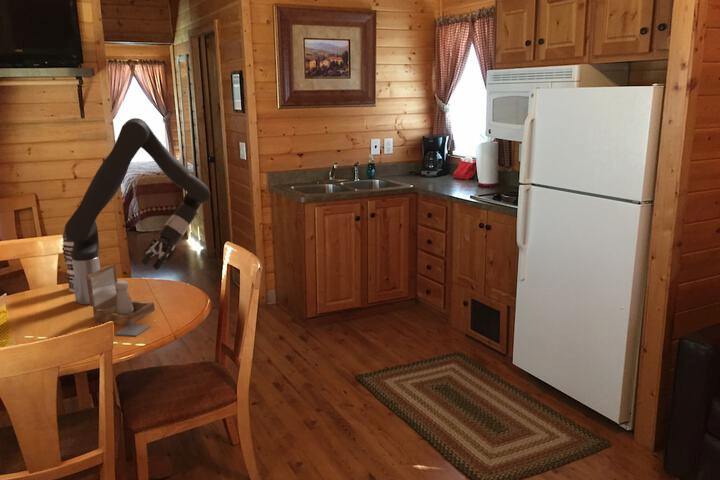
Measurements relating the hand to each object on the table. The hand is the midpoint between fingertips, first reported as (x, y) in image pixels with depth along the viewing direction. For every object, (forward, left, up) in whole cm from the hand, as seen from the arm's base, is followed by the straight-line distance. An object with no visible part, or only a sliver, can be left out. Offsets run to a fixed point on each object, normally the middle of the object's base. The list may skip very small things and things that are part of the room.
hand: (148, 266), depth 220 cm
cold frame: (-5, -9, -16) cm, 19 cm away
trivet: (+5, -21, -16) cm, 27 cm away
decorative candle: (-42, +15, -16) cm, 48 cm away
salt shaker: (-5, -9, -16) cm, 19 cm away
